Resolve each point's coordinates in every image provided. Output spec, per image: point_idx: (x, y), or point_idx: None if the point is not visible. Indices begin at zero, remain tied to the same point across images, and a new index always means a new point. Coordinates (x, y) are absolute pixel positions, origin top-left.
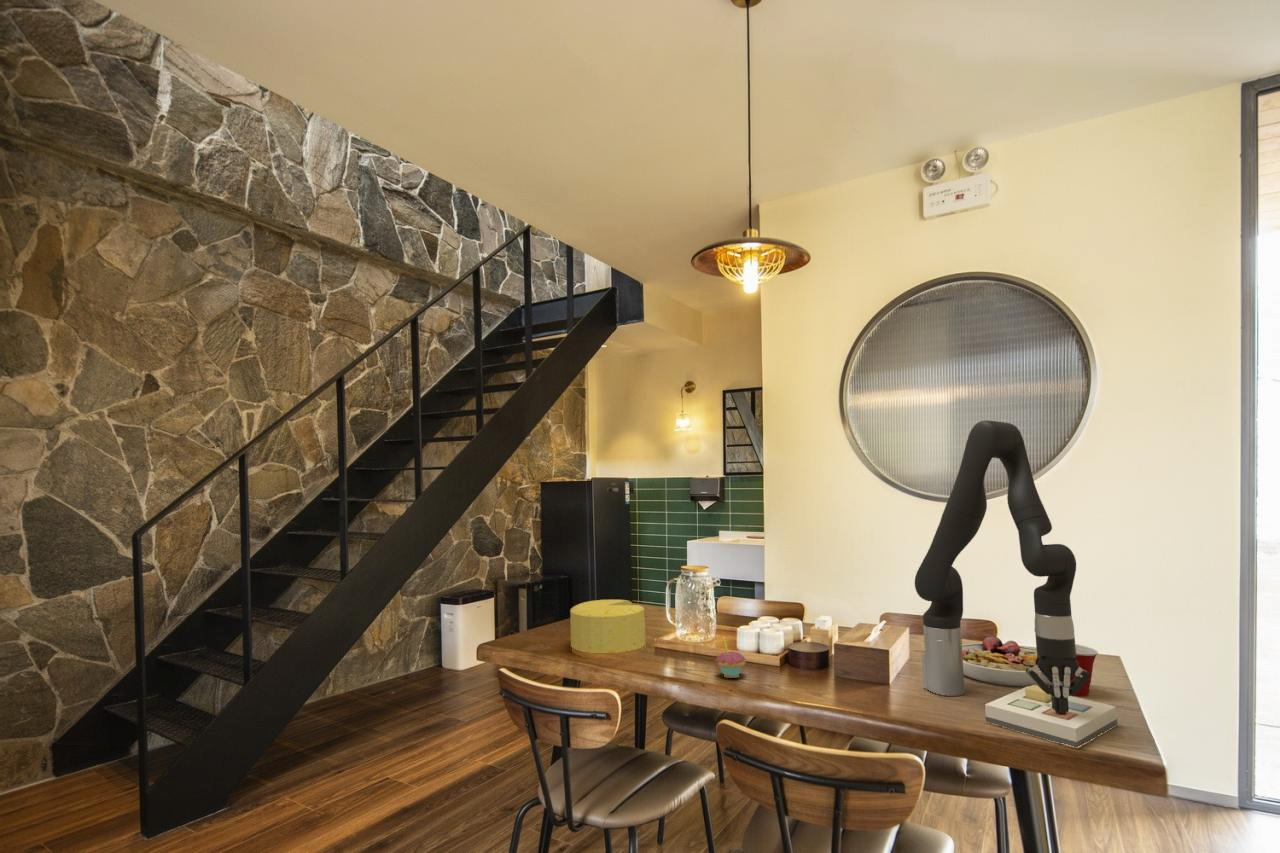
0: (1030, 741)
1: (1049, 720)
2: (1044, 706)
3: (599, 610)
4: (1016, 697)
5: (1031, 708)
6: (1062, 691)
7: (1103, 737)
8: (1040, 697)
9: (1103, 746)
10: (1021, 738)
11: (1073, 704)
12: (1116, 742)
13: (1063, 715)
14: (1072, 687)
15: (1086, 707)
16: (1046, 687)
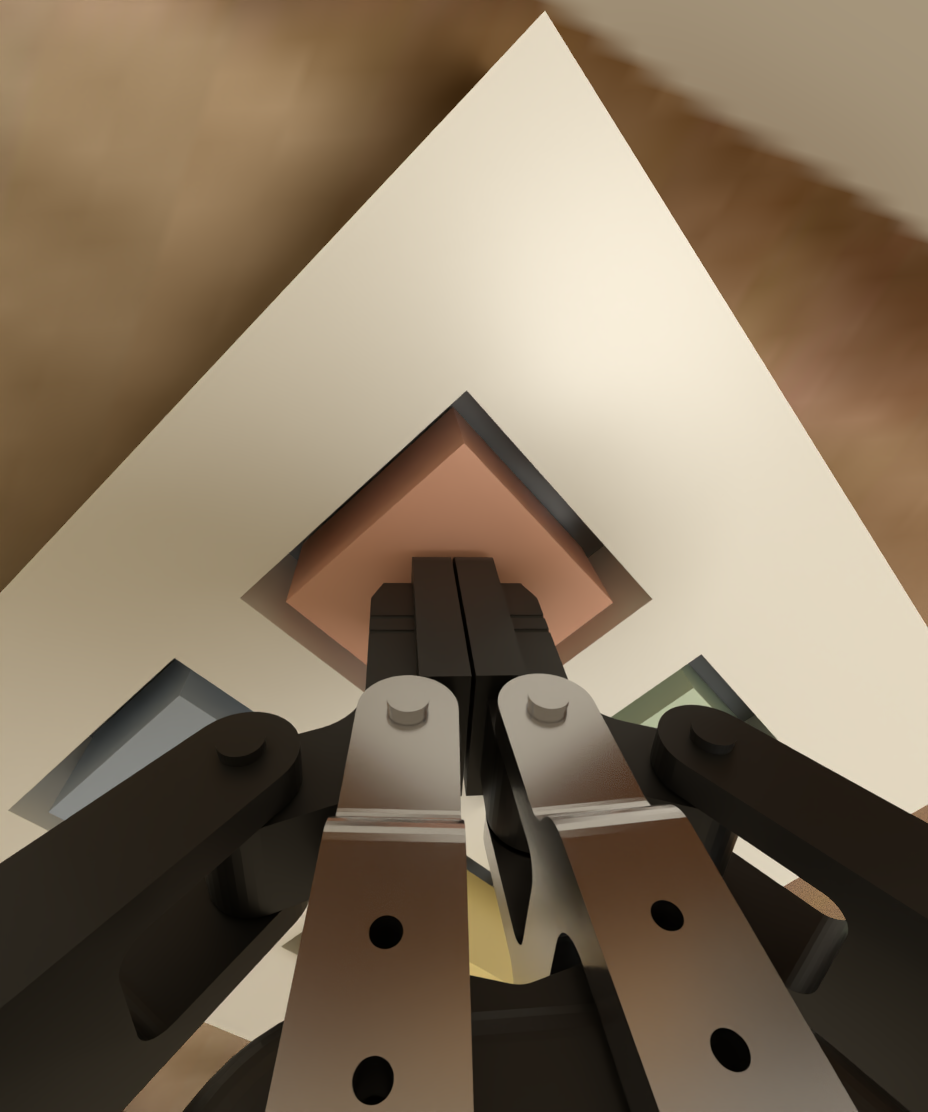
0: (821, 297)
1: (704, 370)
2: None
3: None
4: None
5: (670, 704)
6: (458, 761)
7: (101, 445)
8: (468, 910)
9: (178, 195)
10: (850, 367)
11: None
12: (8, 322)
13: (452, 535)
14: (205, 910)
15: (92, 783)
16: (783, 797)
